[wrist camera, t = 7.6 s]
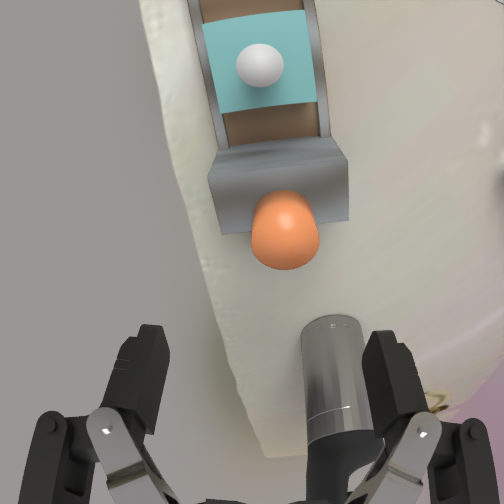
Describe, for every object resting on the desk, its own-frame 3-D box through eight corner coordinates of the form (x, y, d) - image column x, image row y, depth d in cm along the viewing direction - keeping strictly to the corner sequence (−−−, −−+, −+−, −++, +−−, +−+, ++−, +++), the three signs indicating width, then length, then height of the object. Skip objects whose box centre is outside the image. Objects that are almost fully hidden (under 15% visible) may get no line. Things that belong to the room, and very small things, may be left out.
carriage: (309, 93, 23) (334, 121, 15) (226, 103, 24) (206, 137, 16) (298, 15, 19) (318, -3, 11) (210, 27, 20) (179, 18, 12)
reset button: (314, 238, 22) (320, 266, 19) (257, 244, 22) (256, 272, 20) (311, 186, 19) (317, 210, 17) (248, 194, 20) (245, 218, 17)
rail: (330, 177, 30) (348, 220, 24) (231, 189, 31) (221, 234, 25) (281, -119, 11) (286, -158, 4) (170, -101, 12) (141, -133, 6)
